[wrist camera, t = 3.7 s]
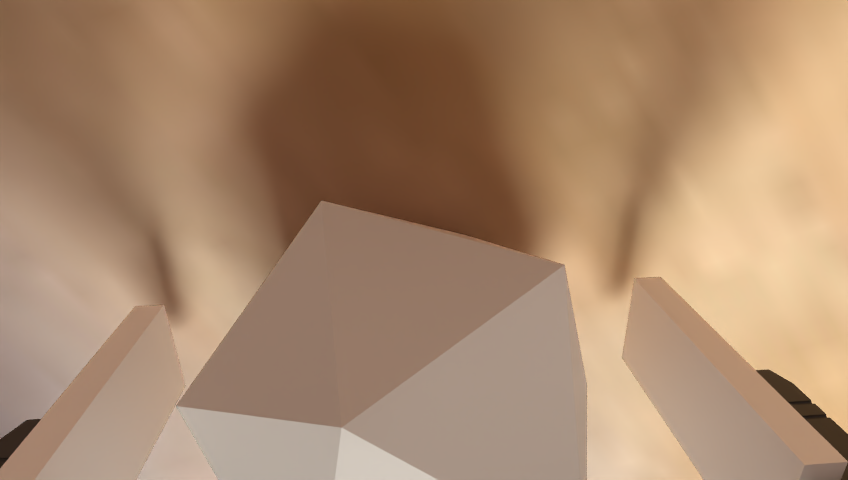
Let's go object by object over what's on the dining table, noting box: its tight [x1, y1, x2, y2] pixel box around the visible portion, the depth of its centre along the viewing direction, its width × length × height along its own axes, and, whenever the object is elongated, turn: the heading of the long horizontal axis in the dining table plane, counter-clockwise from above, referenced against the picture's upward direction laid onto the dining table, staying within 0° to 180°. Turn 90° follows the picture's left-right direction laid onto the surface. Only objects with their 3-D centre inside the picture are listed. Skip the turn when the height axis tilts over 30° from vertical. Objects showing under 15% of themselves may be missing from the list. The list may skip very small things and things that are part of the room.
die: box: [176, 200, 587, 480], centre depth 12 cm, size 8×9×10 cm
